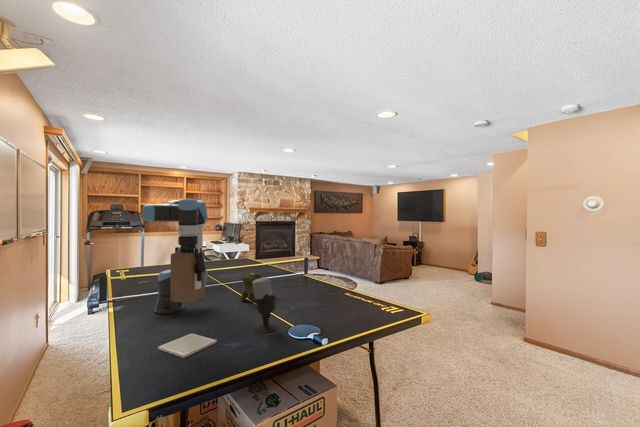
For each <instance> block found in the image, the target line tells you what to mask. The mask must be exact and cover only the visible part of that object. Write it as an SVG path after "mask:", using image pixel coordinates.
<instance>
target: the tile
mask: <svg viewBox="0 0 640 427" xmlns="http://www.w3.org/2000/svg"><path fill="white" fill-rule="evenodd" d="M216 343H217V339H214V338H209V337H207V336H203V335H200V334H196V333H192V332H191V333H189V334H186V335H184V336H182V337H179V338H177V339H175V340H172V341H169V342H167V343H165V344H162V345H159V346H157V350H159V351H163V352H164V353H168V354H171V355H174V356H176V357H180V358H182V359H185V358H186V357H187V358H188V357H190V355H191V356H192V355H194V354H195V353H197V352H199V351H202V350H205V349H206V348H208V347H211V346H212V345H214V344H216Z"/></svg>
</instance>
